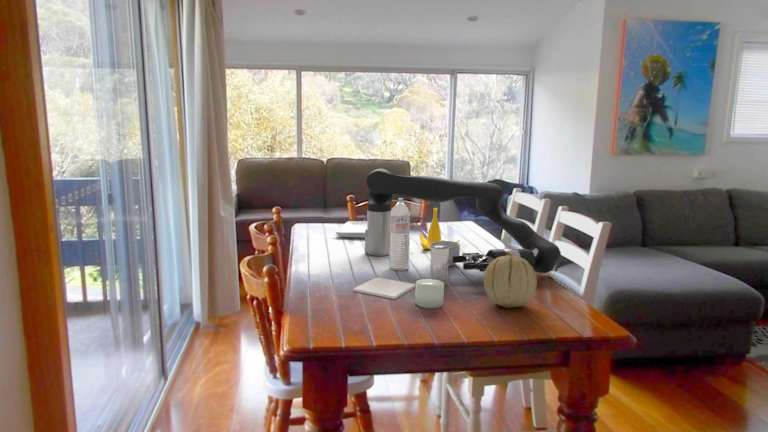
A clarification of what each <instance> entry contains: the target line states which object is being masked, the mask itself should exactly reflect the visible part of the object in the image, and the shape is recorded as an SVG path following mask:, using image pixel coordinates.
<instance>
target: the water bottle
mask: <svg viewBox="0 0 768 432" xmlns="http://www.w3.org/2000/svg"><path fill="white" fill-rule="evenodd" d="M397 201H398V202H397V203H396V204H395V205H393V206H392V207H391V232H390V254H389V268H390V270H393V271H397V272H399V271H400V272H401V271H407V270H408V269H409V266H410V245H411V243H410V242H411V241H410V240H411V239H410V238H411V237H410V236H411V233H410V229H411V225H410V224H411V209H410V207H409V206H408V205H407V204H406V203H404V198H403V197H399V198H398V199H397Z"/></svg>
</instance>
